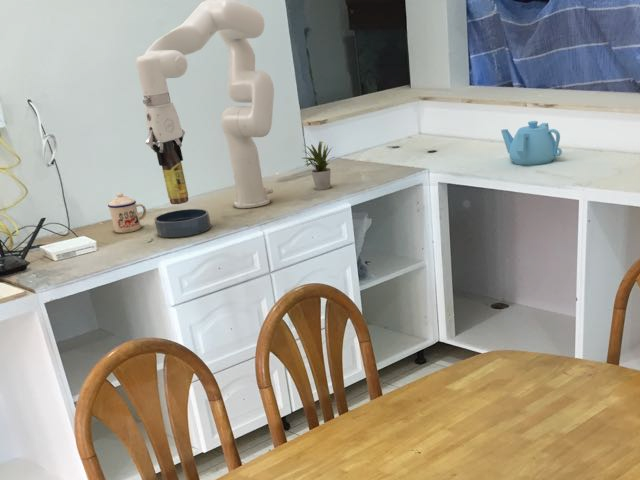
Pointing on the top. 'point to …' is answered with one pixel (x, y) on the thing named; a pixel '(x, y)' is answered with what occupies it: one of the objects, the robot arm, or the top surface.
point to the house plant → (319, 167)
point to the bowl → (182, 223)
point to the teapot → (532, 144)
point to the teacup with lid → (125, 214)
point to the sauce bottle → (174, 175)
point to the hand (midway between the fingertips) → (171, 162)
